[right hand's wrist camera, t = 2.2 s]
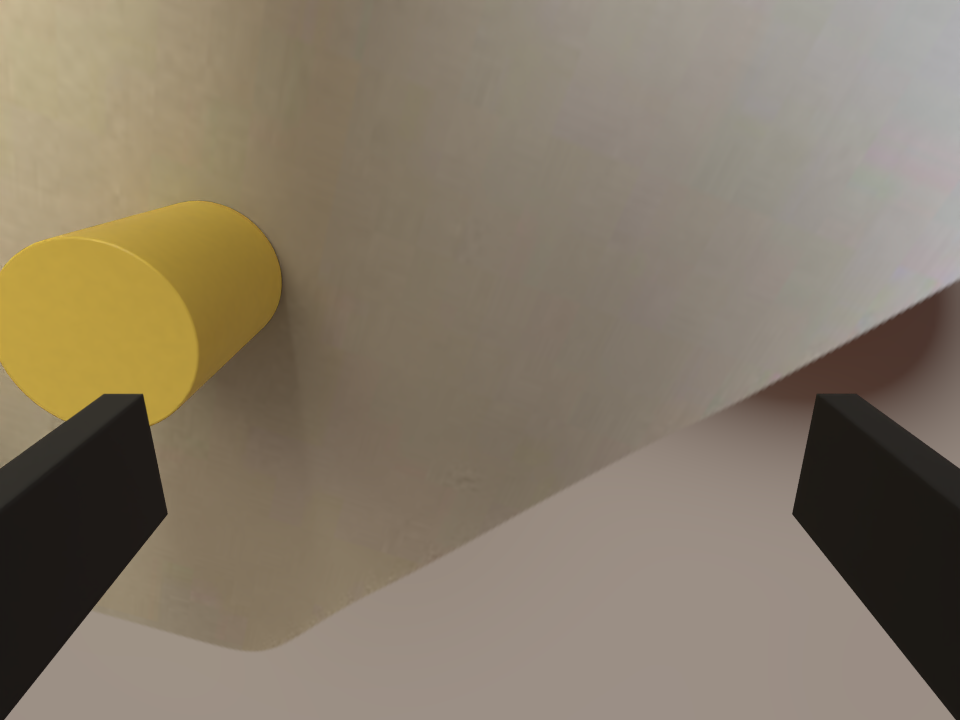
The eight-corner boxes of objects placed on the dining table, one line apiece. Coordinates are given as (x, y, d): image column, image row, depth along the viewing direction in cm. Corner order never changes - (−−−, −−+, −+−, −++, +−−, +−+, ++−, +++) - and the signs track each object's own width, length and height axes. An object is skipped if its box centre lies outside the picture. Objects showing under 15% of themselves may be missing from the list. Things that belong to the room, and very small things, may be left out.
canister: (105, 271, 31) (-55, 335, 22) (196, 167, 29) (65, 189, 20) (220, 370, 33) (117, 468, 24) (312, 278, 31) (241, 345, 22)
